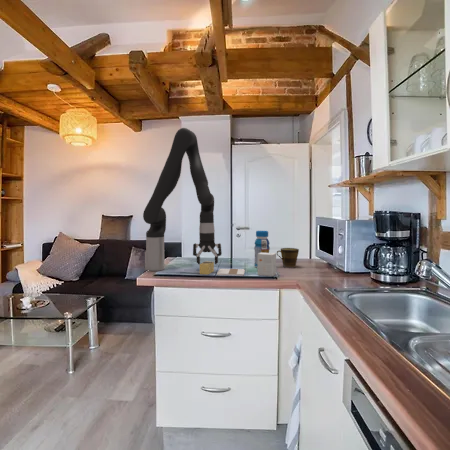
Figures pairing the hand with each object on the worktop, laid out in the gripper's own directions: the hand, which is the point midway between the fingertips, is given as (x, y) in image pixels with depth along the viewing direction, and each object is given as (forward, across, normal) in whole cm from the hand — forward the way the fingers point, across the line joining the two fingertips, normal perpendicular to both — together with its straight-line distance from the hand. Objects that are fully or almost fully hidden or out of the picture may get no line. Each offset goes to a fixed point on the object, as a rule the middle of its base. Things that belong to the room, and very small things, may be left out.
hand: (207, 264), depth 151 cm
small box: (+5, +30, -1) cm, 30 cm away
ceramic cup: (+5, +41, +21) cm, 46 cm away
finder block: (+4, 0, 0) cm, 4 cm away
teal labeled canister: (+5, +27, +18) cm, 33 cm away
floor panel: (+4, +12, 0) cm, 13 cm away
